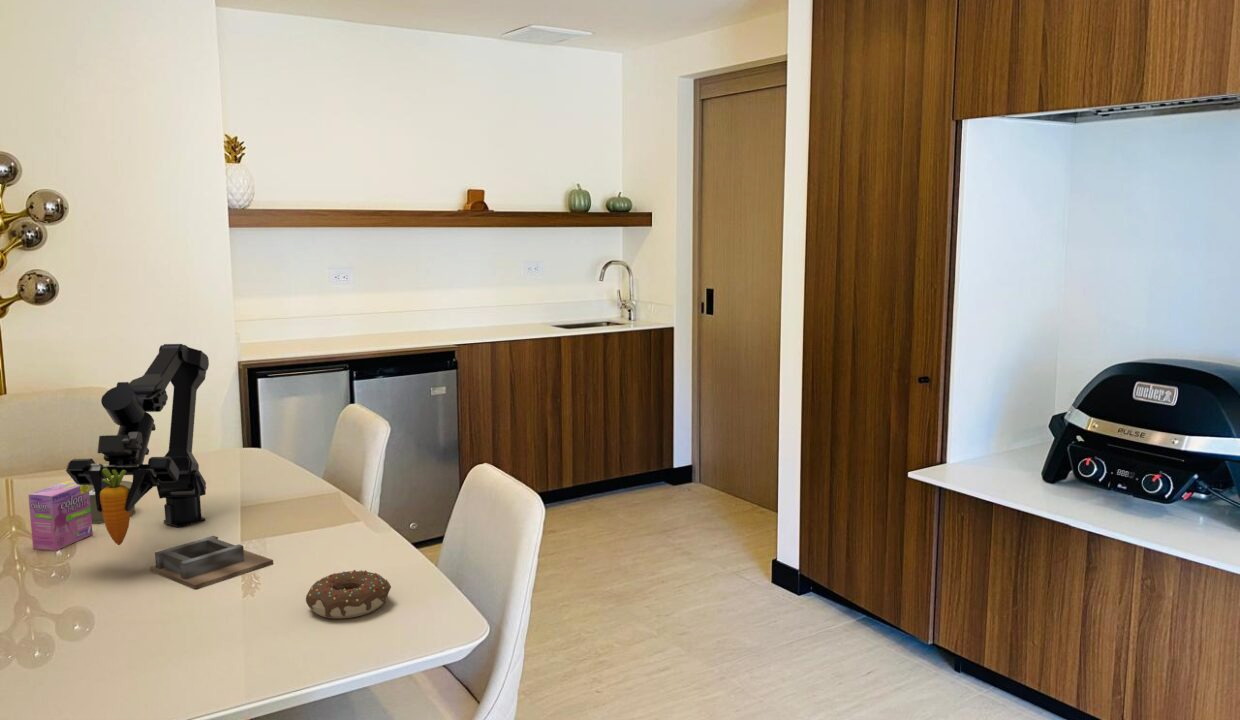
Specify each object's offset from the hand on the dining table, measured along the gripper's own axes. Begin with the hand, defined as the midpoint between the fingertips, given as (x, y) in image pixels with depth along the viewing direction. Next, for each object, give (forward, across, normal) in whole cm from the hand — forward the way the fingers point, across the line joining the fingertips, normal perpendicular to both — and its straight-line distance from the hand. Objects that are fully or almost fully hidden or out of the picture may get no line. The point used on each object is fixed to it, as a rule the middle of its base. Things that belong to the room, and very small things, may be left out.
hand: (112, 510), depth 174 cm
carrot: (+4, 0, +6) cm, 7 cm away
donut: (+22, +46, -3) cm, 51 cm away
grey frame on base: (+6, +16, +12) cm, 21 cm away
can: (-19, -20, +39) cm, 47 cm away
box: (-6, -21, +26) cm, 34 cm away
